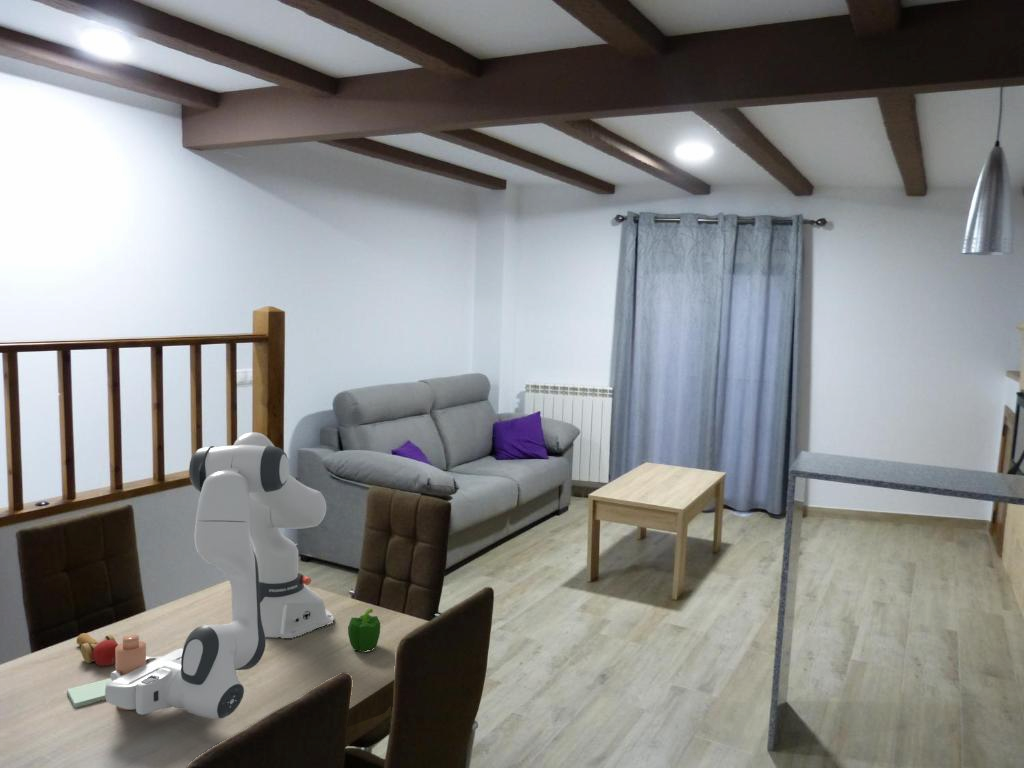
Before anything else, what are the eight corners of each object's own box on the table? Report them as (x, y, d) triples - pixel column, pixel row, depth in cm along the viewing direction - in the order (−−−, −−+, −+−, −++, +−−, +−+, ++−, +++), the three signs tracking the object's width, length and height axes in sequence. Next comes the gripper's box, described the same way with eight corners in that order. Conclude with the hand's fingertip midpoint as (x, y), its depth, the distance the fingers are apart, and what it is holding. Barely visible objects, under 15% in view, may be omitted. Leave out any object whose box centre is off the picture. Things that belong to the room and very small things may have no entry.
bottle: (142, 693, 179) (141, 629, 177) (150, 704, 174) (149, 639, 172) (113, 701, 175) (112, 636, 173) (120, 713, 170) (119, 646, 169)
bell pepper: (359, 659, 200) (360, 621, 199) (342, 647, 206) (343, 610, 205) (387, 650, 206) (388, 613, 205) (370, 638, 212) (371, 602, 211)
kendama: (63, 655, 198) (92, 670, 186) (66, 629, 199) (95, 642, 187) (96, 651, 204) (126, 666, 192) (99, 626, 205) (129, 639, 193)
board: (161, 669, 191) (161, 665, 190) (171, 681, 185) (171, 677, 185) (67, 693, 178) (67, 689, 178) (74, 707, 172) (74, 703, 172)
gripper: (212, 649, 177) (166, 635, 183) (134, 689, 159) (86, 673, 165) (212, 675, 178) (166, 661, 184) (134, 719, 160) (87, 701, 165)
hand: (128, 667), depth 174 cm, fingers closed on bottle, 6 cm apart
